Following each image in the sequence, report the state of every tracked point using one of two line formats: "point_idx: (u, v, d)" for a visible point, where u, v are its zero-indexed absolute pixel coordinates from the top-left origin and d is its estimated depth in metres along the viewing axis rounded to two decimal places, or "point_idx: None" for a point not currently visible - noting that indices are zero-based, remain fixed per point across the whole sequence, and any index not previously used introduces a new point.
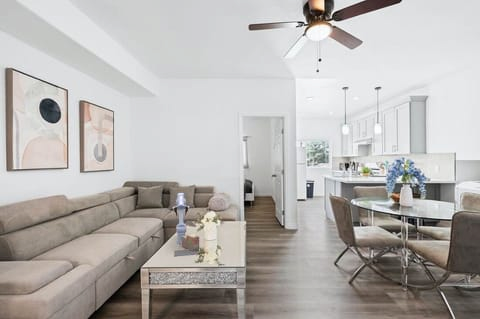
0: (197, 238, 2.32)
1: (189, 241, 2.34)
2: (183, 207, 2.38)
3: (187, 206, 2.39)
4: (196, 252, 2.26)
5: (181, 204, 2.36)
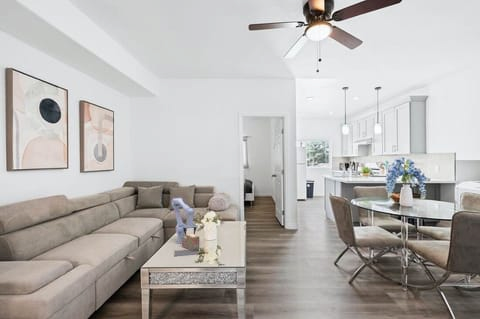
0: (197, 238, 2.32)
1: (189, 241, 2.34)
2: (192, 227, 2.47)
3: (196, 226, 2.47)
4: (196, 252, 2.26)
5: (190, 227, 2.43)
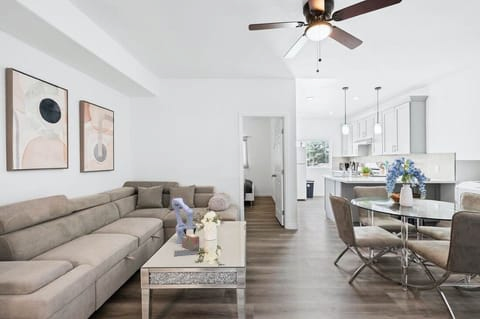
0: (197, 238, 2.32)
1: (189, 242, 2.34)
2: (192, 228, 2.46)
3: (195, 227, 2.47)
4: (196, 252, 2.26)
5: (190, 228, 2.43)
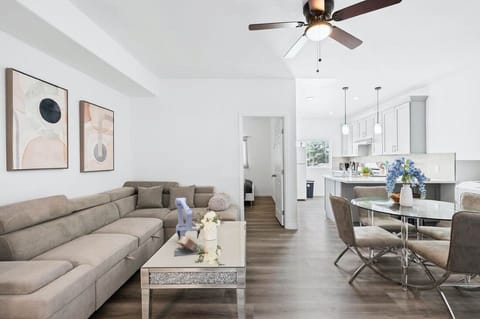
0: (189, 241, 2.24)
1: (185, 246, 2.28)
2: (191, 230, 2.40)
3: (195, 229, 2.40)
4: (196, 252, 2.26)
5: (189, 230, 2.36)
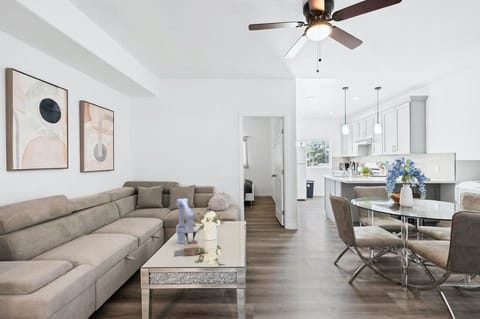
0: (185, 250, 2.19)
1: None
2: (192, 232, 2.34)
3: (196, 231, 2.34)
4: None
5: (190, 232, 2.30)
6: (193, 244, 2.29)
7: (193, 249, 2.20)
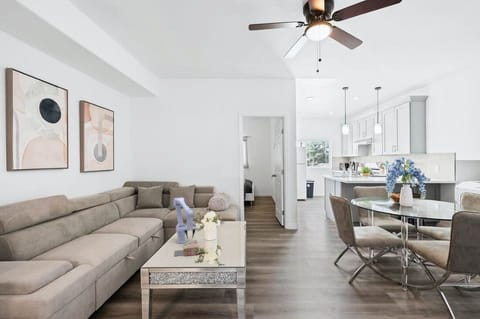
0: (185, 250, 2.18)
1: None
2: (192, 229, 2.44)
3: (196, 228, 2.44)
4: None
5: (190, 229, 2.40)
6: (193, 244, 2.29)
7: (193, 249, 2.20)
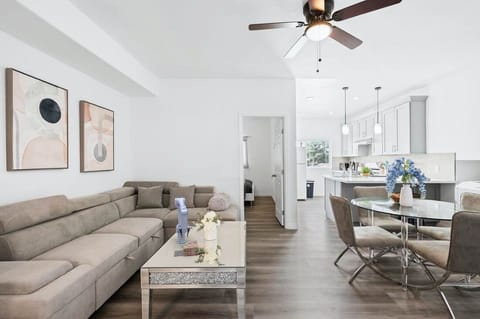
0: (185, 250, 2.18)
1: None
2: None
3: (190, 227, 2.43)
4: None
5: (185, 228, 2.39)
6: (193, 244, 2.29)
7: (193, 249, 2.20)
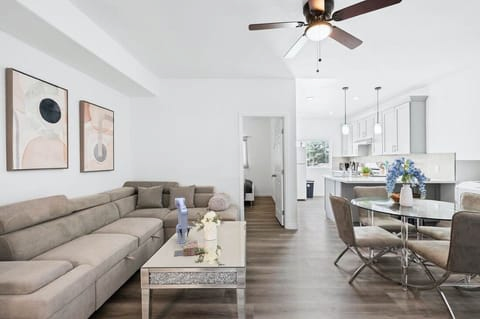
0: (185, 250, 2.18)
1: None
2: None
3: (190, 227, 2.43)
4: None
5: (185, 228, 2.39)
6: (193, 244, 2.29)
7: (193, 249, 2.20)
